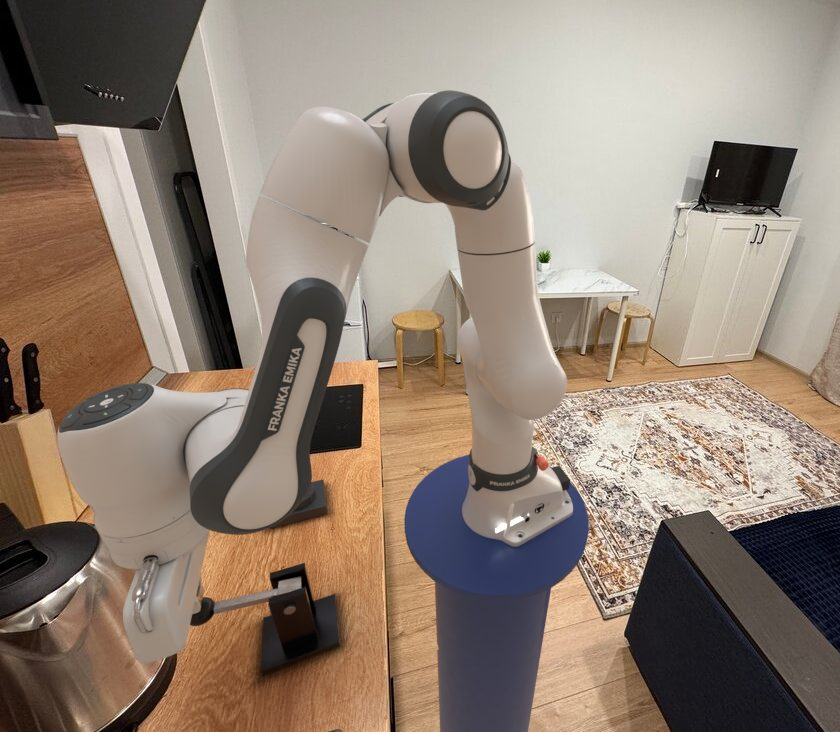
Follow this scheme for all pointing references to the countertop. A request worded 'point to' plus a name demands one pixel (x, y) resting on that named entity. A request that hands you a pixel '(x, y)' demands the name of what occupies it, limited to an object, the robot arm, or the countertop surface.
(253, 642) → the countertop surface
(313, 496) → the button box
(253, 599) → the tap lever
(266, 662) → the bracket
